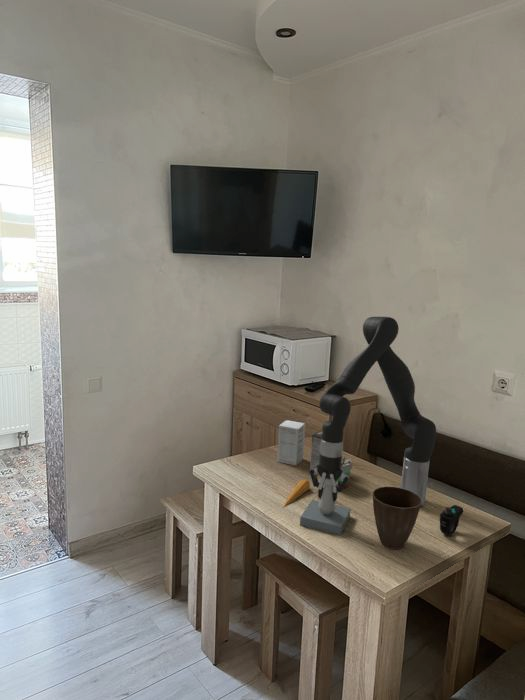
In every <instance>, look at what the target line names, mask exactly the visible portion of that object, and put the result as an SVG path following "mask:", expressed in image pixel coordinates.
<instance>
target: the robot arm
mask: <svg viewBox="0 0 525 700" xmlns="http://www.w3.org/2000/svg"><path fill="white" fill-rule="evenodd" d="M362 332H363V336H364V339H365V341H366V343H367V344H368V345H367V347H365V348H364V349H363V351H361V352H360V353H359V354H358V355H356V357H353V358H352V360H351V361H350V362H349V363H348V364H347V366H345V368H344V370H343V371H342V373H341V375H339V376H340V377H339V378H338V379H337V380H336V381H335V382H334V383H333V384H332V385H331V386H330V387H329V388H328V389H327V390H326V391H325V392H324V393H323V394H322V396H321V398H320V400H319V408H320V410H321V411H322V413H325V414H327V415H329V416H332V420H327V421H324V423H323V425H322V429H321V430H322V440H321V445H320V456H319V466H318V468H312V469H311V470H310V469H309V474H310V475H309V476H310V480H311V482H312V485H313V487H316V488H317V489H318V493H317V497H318V498H319V500H320V499H321V496H322V492H323V489H324V485H325V484H324V480H325V478H330V479H331V481H332V482H333V484H332V487H333V492H332V496H333V502H334V501H335V502H336V501H337V500H338V493H341V492H343V490H344V489H345V488H344V486H345V485H346V483H347V481H348V479H350V475H345V474H343V473H342V470H341V464H342V460H343V453H344V452H343V449H344V445H343V444H344V443H343V442H344V441H343V439H344V429H345V428H346V427H345V426H346V425H347V424H346V423H347V421H348V419H349V416H350V413H351V408H352V407H351V403H350V401H349V399H348V398H347V397H345V395H353V394H355V393H356V392H357V390H358V389H359V387H360V386H361V384H362V382H363V381H364V379H365V377H366V376H367V374H368V372H370V369H372V368H373V366H374V365H375V363H377V364H378V367H379V369H380V371H381V373H382V376H383V379H384V381H385V383H386V385H387V388H388V390H389V393H390V395H391V398H392V400H393V402H394V405H395V406H396V409H397V412H398V416H399V419H400V422H401V426H402V429H403V432H404V433H405V435H406V436H407V437H409V438H410V439H412V445H411V446H409V447H406V448H405V449H404V453H403V454H404V456H403V461H402V462H403V465H402V472H401V473H402V474H401V483H400V488H403V489H406V490H409V491H411V492H413V493H415V494H417V495H418V496H419V497H420V499H421V505H420V507H425V503H426V495H427V488H428V478H429V468H430V462H431V461H430V460H431V456H432V455H433V452H434V448H435V443H436V435H437V428H436V427H437V426H436V424H435V422H434V421H432V420H431V419H429V418H427V417H424V416H423V415H422V414H421V412H420V411H419V409H418V407H417V405H416V401H415V393H416V386H415V385H416V384H415V381H414V379H413V376H412V374H411V372H410V369H409V367H408V366H407V364H406V363H405V362H404V361H403V360H402V359H401V358H400V357H399V356H398V355H397V354H396V353H395V351H394V350H393V349H392V347H391V345H392V344H393V342H394V341H396V338H397V336H398V334H399V324H398V322H397V320H396V318H395V319H394V318H393V317H390V316H369V317H368V318H366V319H365V320H364V322H363V324H362ZM317 471H318V473H317ZM318 474H319V476H320V481H319V479H318ZM340 476H341V477H342V481H343V482H342V484H341V486H340V487H338V481H337V479H338V478H339V477H340ZM335 481H336V483H335ZM348 482H349V481H348ZM343 488H344V489H343Z"/></svg>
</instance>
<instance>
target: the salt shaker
mask: <svg viewBox="0 0 525 700" xmlns="http://www.w3.org/2000/svg"><path fill="white" fill-rule="evenodd" d="M335 483H336V481H335ZM332 484H333V482H332V481H331V479H330V478H325V480H324V485H323V488H324V489H323V492H322V496H321V499H320V498H319V500H318V501H319V505H318V506H319V510H320V512H321V513H322V514H323V515H331V514H332V513H333V512H334V510H335V505H336V501H334V502H333V496H332V492H333V487H332Z"/></svg>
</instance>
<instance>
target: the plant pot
mask: <svg viewBox="0 0 525 700" xmlns="http://www.w3.org/2000/svg"><path fill="white" fill-rule="evenodd" d="M372 505H373V515H374V520H375V521H374V522H375V527H376V529H377V535H378V538H379V541H380V543H381V545H382V546H383V545H384V547H385V548H387V547H388V548H387V549H390V548H391V550H401V549H403V548H404V547H405V545H406V544H407V542H408V540H409V538H410V535H411V533H412V531H413V529H414V527H415V524H416V522H417V518H418V516H419V512H420V509H421V506H420V505H421V499H420V497H419V496H418V495H417V494H415V493H413V492H411V491H409V490H406V489H403V488H401V487H397V486H380V487H378V488H375V489H374V490H373V491H372Z"/></svg>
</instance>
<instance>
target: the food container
mask: <svg viewBox="0 0 525 700" xmlns="http://www.w3.org/2000/svg"><path fill="white" fill-rule="evenodd" d="M352 469H353V462H352V460H351V459H350V458H348V457H346V456H343V458H342V464H341V470H342V473H343V474H345V475H349V476H350V474H351V470H352ZM349 479H350V478H349ZM349 479H348V481H347V483H346V485H345V486H344V488H343V490H344V489H346V488H348V486H349ZM337 481H338V487H340V486H341V484H342V482H343V481H342V477H341V476H340V477H339V478H338V479H337Z"/></svg>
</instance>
